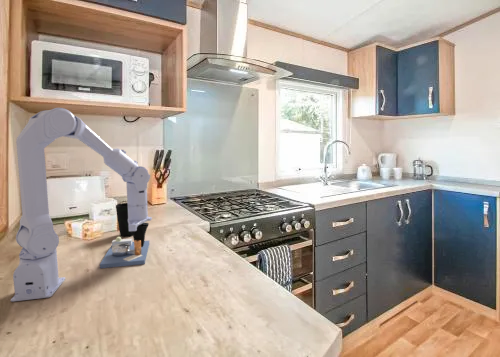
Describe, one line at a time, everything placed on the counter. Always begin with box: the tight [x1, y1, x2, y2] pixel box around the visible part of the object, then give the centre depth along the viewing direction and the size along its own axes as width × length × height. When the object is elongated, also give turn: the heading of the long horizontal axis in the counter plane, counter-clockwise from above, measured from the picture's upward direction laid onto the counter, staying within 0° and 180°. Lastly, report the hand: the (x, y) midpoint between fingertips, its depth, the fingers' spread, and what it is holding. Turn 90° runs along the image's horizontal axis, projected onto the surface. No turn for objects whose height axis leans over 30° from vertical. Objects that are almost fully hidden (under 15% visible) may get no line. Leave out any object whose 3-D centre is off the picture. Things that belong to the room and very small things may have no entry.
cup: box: [115, 202, 133, 238], centre depth 111 cm, size 8×8×12 cm
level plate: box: [99, 236, 150, 269], centre depth 91 cm, size 18×12×4 cm, turn 15°
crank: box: [112, 239, 142, 256], centre depth 88 cm, size 9×5×4 cm, turn 85°
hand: (139, 246), depth 90 cm, fingers closed, pressing on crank
